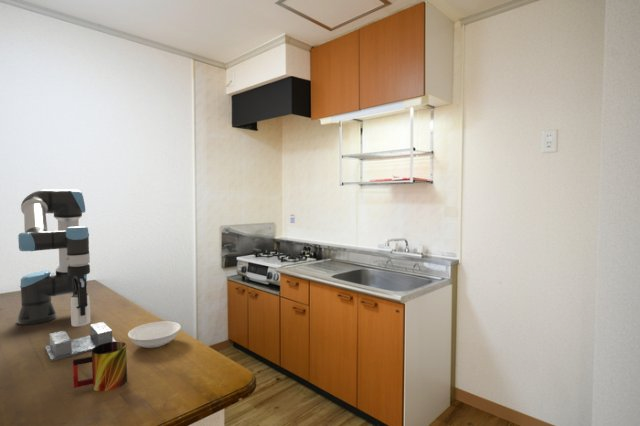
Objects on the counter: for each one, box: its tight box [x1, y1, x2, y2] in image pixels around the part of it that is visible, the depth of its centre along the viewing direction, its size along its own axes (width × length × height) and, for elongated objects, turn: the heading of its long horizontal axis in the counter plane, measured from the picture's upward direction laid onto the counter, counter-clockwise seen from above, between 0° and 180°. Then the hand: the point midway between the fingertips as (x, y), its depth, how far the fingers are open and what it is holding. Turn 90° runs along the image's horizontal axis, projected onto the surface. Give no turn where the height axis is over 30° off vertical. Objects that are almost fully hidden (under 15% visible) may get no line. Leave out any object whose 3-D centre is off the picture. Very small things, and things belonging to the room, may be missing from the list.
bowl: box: [127, 320, 182, 349], centre depth 145 cm, size 20×20×6 cm
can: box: [70, 293, 91, 328], centre depth 143 cm, size 6×6×12 cm
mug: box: [72, 341, 128, 392], centre depth 114 cm, size 10×14×12 cm
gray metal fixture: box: [44, 321, 118, 362], centre depth 144 cm, size 16×22×6 cm
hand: (80, 320), depth 144 cm, fingers closed on can, 6 cm apart
